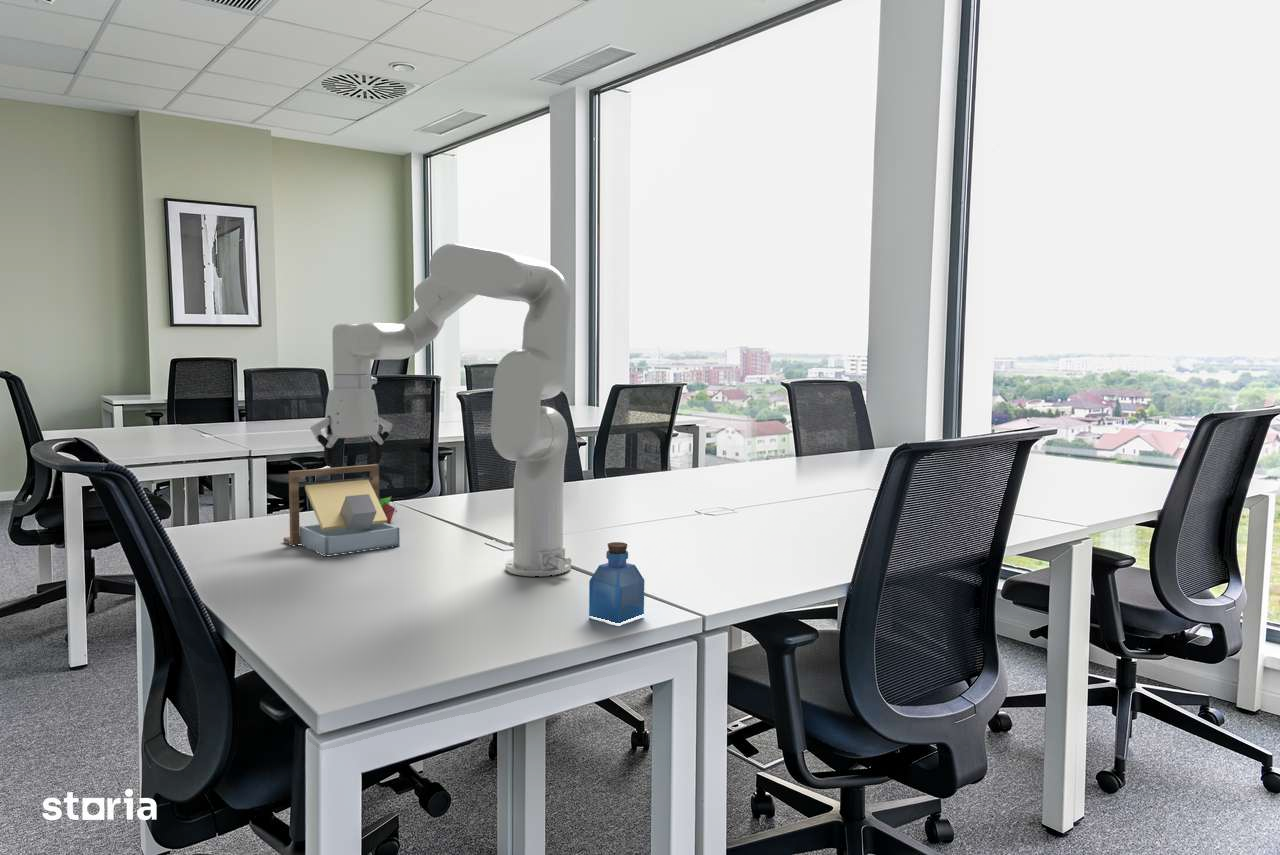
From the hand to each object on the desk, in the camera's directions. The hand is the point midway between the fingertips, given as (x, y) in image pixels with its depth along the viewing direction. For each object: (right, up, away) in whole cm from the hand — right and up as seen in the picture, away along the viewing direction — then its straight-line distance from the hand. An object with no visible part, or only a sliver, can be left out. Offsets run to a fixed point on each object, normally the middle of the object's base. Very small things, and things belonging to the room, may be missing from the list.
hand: (353, 464), depth 180 cm
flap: (-3, -9, +4) cm, 10 cm away
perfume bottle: (+57, -23, -44) cm, 75 cm away
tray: (-2, -18, +3) cm, 18 cm away
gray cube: (0, -12, +1) cm, 12 cm away
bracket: (-8, -17, +10) cm, 21 cm away
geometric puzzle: (-2, -16, +28) cm, 32 cm away
